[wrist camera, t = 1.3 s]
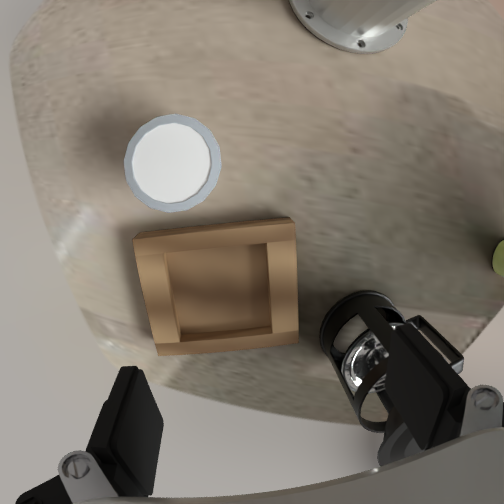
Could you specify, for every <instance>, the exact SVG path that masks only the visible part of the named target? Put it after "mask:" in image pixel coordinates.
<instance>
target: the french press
mask: <svg viewBox="0 0 504 504" xmlns="http://www.w3.org/2000/svg"><path fill="white" fill-rule="evenodd" d="M379 307H381V308H382V309H383V310H384V311H385V313H386V316H387V321H386V320H385V319H384V318H383V317H382V315H381V314H380V313H379V312H378V311H377V310H376V309H375V308H379ZM357 314H358V315H359V316H360V317H361V319H362V320H363V321H364V323H365V324H366V325H367V326H368V328H369V329H367V330H366V331H364V332H363V333H362V334H360V335H359V336H358V337H357V338H356V339H355V340H354V341H353V343H352V344H351V345H350V346H349V348H348V350H347V351H346V353H345V354H343V353H341V352H339V351H338V350H337V349H336V348H335V347H334V345H333V342H334V340H335V337H336V336H337V334H338V332H339V331H340V329H341V328H342V327H343V326H344V325H345V324H346V323H347V322H348V321H349V320H350V319H351V318H353V317H354V316H356V315H357ZM407 323H411V324H412V325H413V326H414V327H415V328H416V329H417V330H421V331H422V332H423V333H424V334H425V335H426V336H427V337H428V338H429V339H430V340H431V341H432V343H433V344H434V345H435V346H436V347H437V348H438V349H439V350H440V351H441V352H442V353H443V354H444V355H445V356H446V357H447V358H448V359H449V360H450V361H451V362H452V363H450V364H449V365H450V366H451V367H452V368H453V369H454V370H455V372H456V373H457V374H459V373H461V372H462V370H463V362H464V357H463V355H462V354H461V353H460V352H459V351H458V350H457V349H456V348H455V347H454V346H453V345H451V344H450V343H449V342H448V341H447V340H446V339H445V338H444V337H443V336H442V335H441V334H440V333H439V332H438V331H437V330H436V329H435V328H434V327H433V326H432V325H431V324H429V323H428V322H427V321H426V320H425V319H424V318H423V317H422V316H421V315H417V316H415V317H413V318H410V319H408V320H406V321H405V319H404V317H403V315H402V314H401V313H400V312H399V311H398V310H397V309H396V308H395V306H394V304H393V303H392V302H391V300H390V299H389V298H388V297H386V296H385V295H384V294H382V293H379V292H376V291H360V292H356V293H353V294H351V295H348V296H346V297H344V298H343V299H342V300H340V301H339V302H337V303H336V304H335V305H334V306H333V307H332V308H331V309H330V311H329V312H328V313H327V315H326V317H325V318H324V320H323V322H322V326H321V329H320V344H321V346H322V349H323V351H324V352H325V354H326V355H327V356H328V357H329V359H330V361H331V363H332V365H333V367H334V369H335V371H336V373H337V375H338V378H339V380H340V382H341V384H342V386H343V388H344V390H345V392H346V394H347V396H348V399H349V401H350V403H351V405H352V407H353V409H354V411H355V413H356V415H357V418H358V420H359V422H360V424H361V425H362V426H363V427H364V428H365V429H367V430H368V431H372V432H376V433H384V440H383V442H382V444H381V446H380V448H379V451H378V456H377V459H378V463H379V465H380V466H384V465H387V464H390V463H393V462H396V461H399V460H402V459H404V458H407V457H410V456H413V455H415V454H418V453H421V452H423V451H425V450H421V449H420V448H419V446H418V444H417V443H416V441H415V439H414V437H413V436H412V434H411V432H410V431H409V429H408V427H407V425H406V424H405V422H404V420H403V419H402V417H401V415H400V413H399V412H398V410H397V408H396V407H395V405H394V403H393V402H392V400H391V398H390V397H389V395H388V393H387V392H386V389H385V378H386V371H387V364H388V357H389V349H390V340H391V333H392V331H395V328H396V327H397V326H400V325H403V324H407ZM436 351H437V350H436ZM437 352H438V351H437ZM438 353H439V352H438ZM439 354H440V353H439ZM440 355H441V354H440ZM441 356H442V355H441ZM442 357H443V356H442ZM443 358H444V357H443ZM444 359H445V358H444ZM446 362H447V361H446ZM447 363H448V362H447ZM350 389H351V390H353V391H355V392H356V393H355V396H353V394H352V392H351V390H350ZM470 389H471V388H470ZM374 392H376V393H377V395H378V396H379V398H380V400H381V402H382V403H383V405H384V407H385V409H386V410H387V412H388V414H389V415H388V418H387V421H385V422H371V421H368V420H365V419H364V418H362V417H361V416H360V413H361V407H362V403H363V401H364V399H365V397H366V395H367V394H368V393H374Z"/></svg>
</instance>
